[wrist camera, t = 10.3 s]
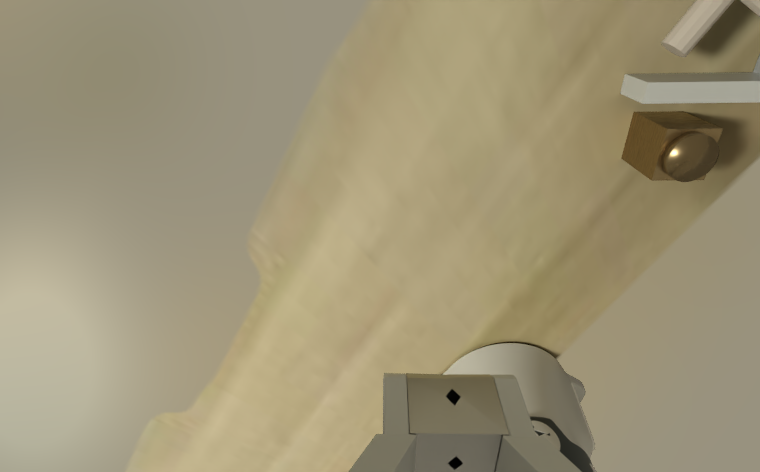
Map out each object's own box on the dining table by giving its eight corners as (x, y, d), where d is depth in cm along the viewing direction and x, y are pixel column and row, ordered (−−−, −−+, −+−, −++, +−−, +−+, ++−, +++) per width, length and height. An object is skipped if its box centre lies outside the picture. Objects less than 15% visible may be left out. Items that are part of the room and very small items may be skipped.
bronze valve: (667, 157, 39) (710, 184, 34) (621, 158, 39) (657, 184, 34) (682, 111, 37) (730, 131, 32) (633, 111, 37) (673, 132, 32)
